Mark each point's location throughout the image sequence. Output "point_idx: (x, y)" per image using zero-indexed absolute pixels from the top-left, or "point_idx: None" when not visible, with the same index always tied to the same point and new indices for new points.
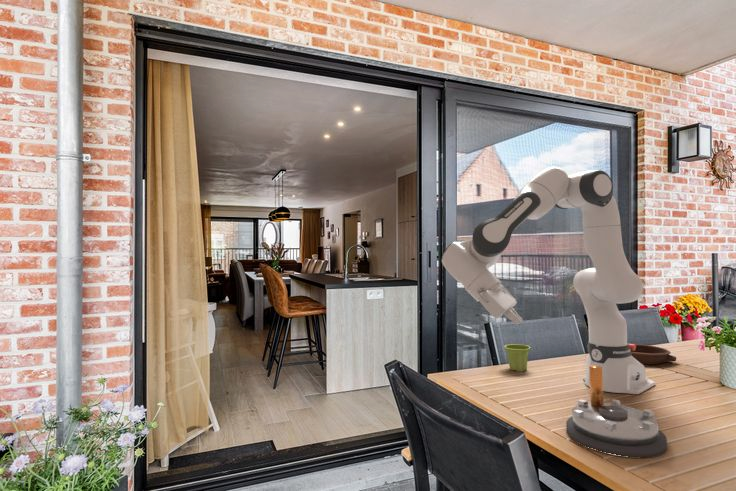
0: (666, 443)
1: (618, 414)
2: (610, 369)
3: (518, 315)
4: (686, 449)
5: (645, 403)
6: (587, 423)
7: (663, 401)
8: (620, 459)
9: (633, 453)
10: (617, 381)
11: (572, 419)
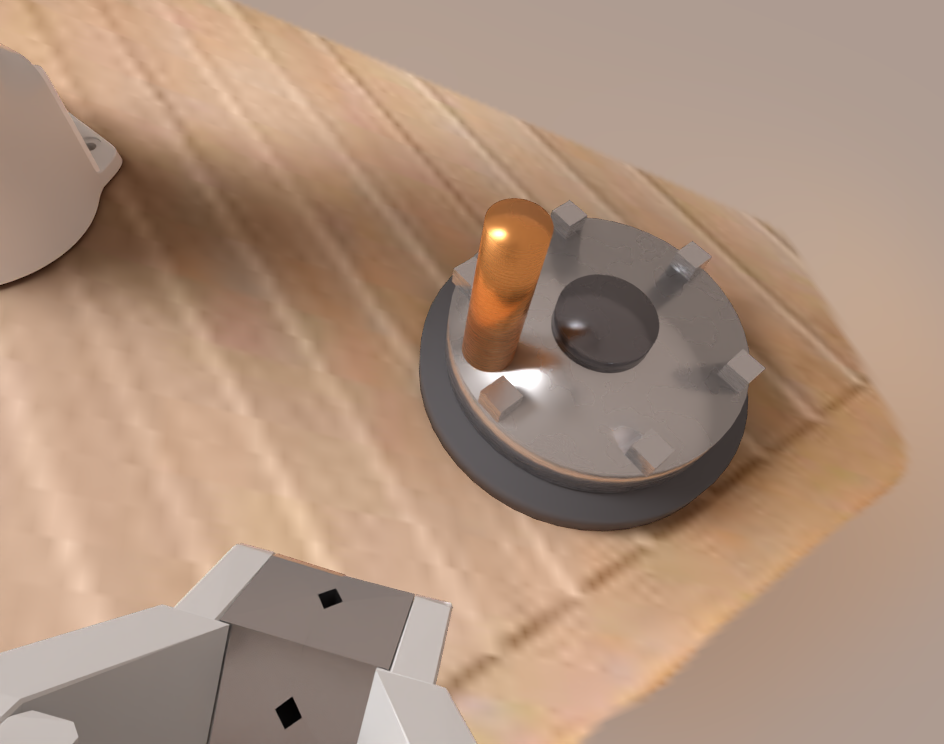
0: None
1: (653, 313)
2: (16, 144)
3: (206, 610)
4: None
5: (226, 175)
6: (713, 443)
7: (206, 122)
8: (752, 410)
9: None
10: (65, 172)
11: (517, 479)
